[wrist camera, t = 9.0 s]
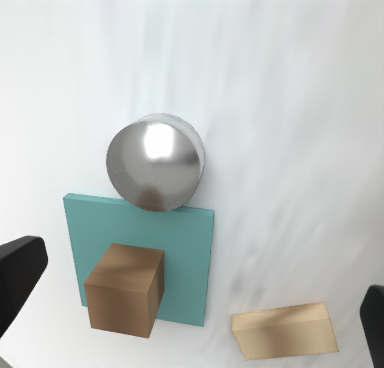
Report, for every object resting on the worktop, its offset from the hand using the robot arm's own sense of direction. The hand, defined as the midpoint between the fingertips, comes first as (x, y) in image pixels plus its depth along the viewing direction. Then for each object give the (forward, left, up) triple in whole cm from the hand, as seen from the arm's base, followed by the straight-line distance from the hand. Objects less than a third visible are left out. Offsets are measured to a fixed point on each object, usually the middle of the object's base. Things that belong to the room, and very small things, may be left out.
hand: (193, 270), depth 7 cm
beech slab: (-7, +16, -12) cm, 21 cm away
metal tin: (+4, +1, -12) cm, 13 cm away
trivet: (+6, +11, -12) cm, 17 cm away
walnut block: (+6, +11, -11) cm, 17 cm away
